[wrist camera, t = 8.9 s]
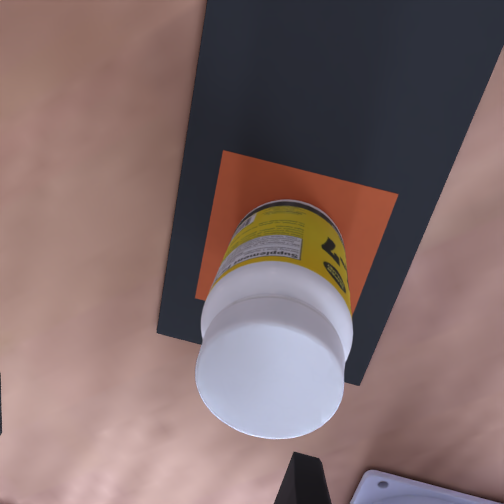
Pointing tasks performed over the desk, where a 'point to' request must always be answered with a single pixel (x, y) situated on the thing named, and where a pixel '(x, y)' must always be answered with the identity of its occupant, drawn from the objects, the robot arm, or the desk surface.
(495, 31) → the place mat
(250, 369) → the supplement bottle
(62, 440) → the desk surface
